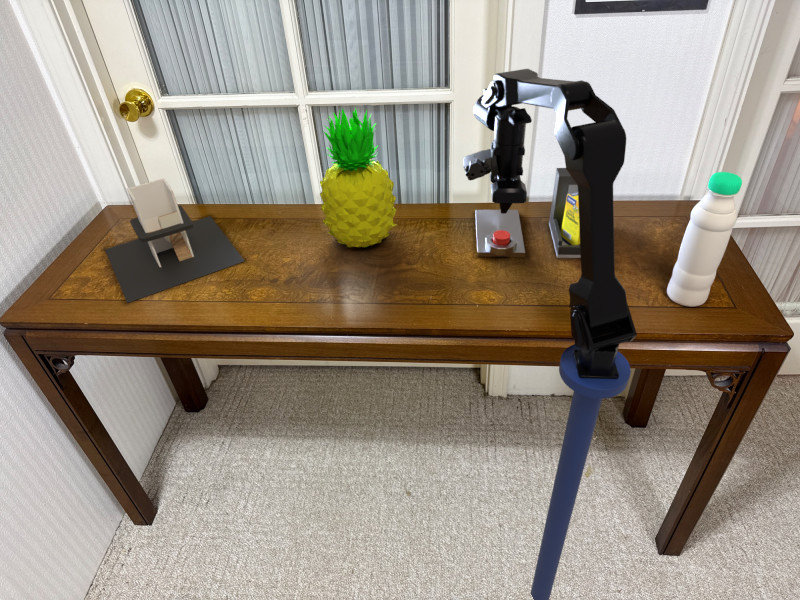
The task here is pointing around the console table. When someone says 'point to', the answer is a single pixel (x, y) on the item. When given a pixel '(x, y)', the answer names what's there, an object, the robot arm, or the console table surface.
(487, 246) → the button block
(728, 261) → the console table surface
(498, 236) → the button
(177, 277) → the beige and grey stand
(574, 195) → the supplement box
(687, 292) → the water bottle
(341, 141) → the pineapple
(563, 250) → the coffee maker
